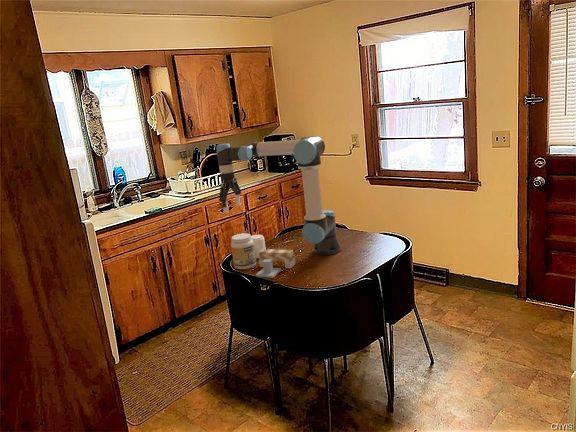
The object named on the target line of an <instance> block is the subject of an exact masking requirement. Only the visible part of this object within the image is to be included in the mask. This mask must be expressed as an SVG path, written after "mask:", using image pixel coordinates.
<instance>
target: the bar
mask: <svg viewBox="0 0 576 432" xmlns="http://www.w3.org/2000/svg"><path fill="white" fill-rule="evenodd" d="M259 257H260V258H259V260H265V259H267V260H272V262H273V261H276V262H277V261H278V262H285V261H292V260H293V259H294V257H295V256H294V250H293V249H277V248H276V249H274V248H273V249H271V248H270V249H269V248H266V249H262V250H261V251H259Z"/></svg>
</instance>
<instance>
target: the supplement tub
mask: <svg viewBox="0 0 576 432" xmlns="http://www.w3.org/2000/svg"><path fill="white" fill-rule="evenodd" d="M251 236H252V235H251V234H250V233H238V234H234V235H232V236H231V242H230V247H231V248H230V249H231V253H232V260H233V266H234V268H235V269H238V270H247V269H252V268H253V267H255V266H256V265H257V258H256V257H255V250H254V242H253V240H252V239H251Z"/></svg>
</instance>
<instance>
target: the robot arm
mask: <svg viewBox="0 0 576 432" xmlns="http://www.w3.org/2000/svg"><path fill="white" fill-rule="evenodd" d="M325 151H326V144H325V141H324V140H323V139H322V137H320V136H317V135H310V136H306V137H305V136H304V137H300V139H291V140H289V139H288V140H278V141H277V140H275V141H274V140H273V141H260V142H258V141H252V142H248V143H246V144H243V145H239V146H232V147H231V145H230V143H228V142H227V143H221V144H217V145H216V156H217V161H218V168H219V173H220V174H219V175H220V180H221V181H222V182H221V183H219V187H220V190H219V202H221V203H222V208H223V213H224V214H228V213H230V210H229V204H228V200H227V199H228V194H229V191H230V190H231V191H232V192H233V193H234V200H235V206H236V207H242V205H241V198H240V195H241V194H242V189H241V188H240V186H239V183H238V179H237V178H236V177H235V172H234V166H233V165H234V164H233V162H245V161H250V160H251V159H252V158H253V157H264V156H267V157H268V156H287V155H293V158H294V159H295V161H296V162H297V167H298V168H299V169H300V170H301V175H302V176H301V177H302V186H303V196H304V205H305V215H304V217H303V223H304V225H303V227H302V229H301V233H302V237H303V238H304V239H305V240H306V241H307V242H308V243H310V244H314V245H313V252H314V253H315V254H316V255H320V256H329V255H334V254H337V253H339V252H340V251H342V246H341V243H340V241H339V239H338V237H337V236H338V235H337V226H336V214H335V211H333V210H331V209H323V202H322V194H321V181H320V171H319V167H320V166H321V164H322V162H321V156H323V154H324V152H325Z"/></svg>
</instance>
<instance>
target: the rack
mask: <svg viewBox="0 0 576 432" xmlns="http://www.w3.org/2000/svg"><path fill="white" fill-rule="evenodd" d="M258 261H259V267H260V268H263V263H262V261H264V260H260V259H259V260H258ZM295 265H296V257H295V256H294V259H293V260H292V261H284V266H285V269H292V268H293V267H294V266H295Z"/></svg>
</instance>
